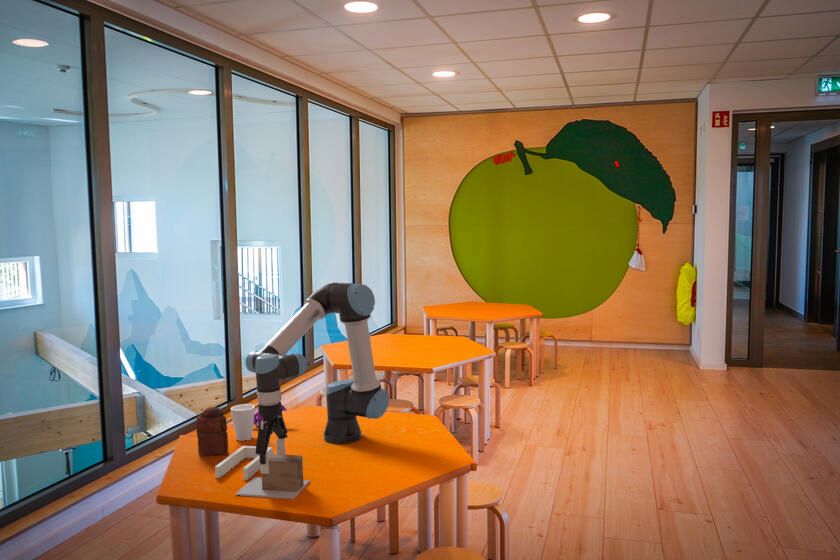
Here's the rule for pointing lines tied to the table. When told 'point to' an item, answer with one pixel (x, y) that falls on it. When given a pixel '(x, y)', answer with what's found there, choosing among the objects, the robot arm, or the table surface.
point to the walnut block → (283, 473)
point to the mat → (256, 490)
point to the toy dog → (262, 417)
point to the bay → (239, 456)
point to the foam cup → (243, 421)
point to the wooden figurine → (212, 432)
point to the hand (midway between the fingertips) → (273, 465)
